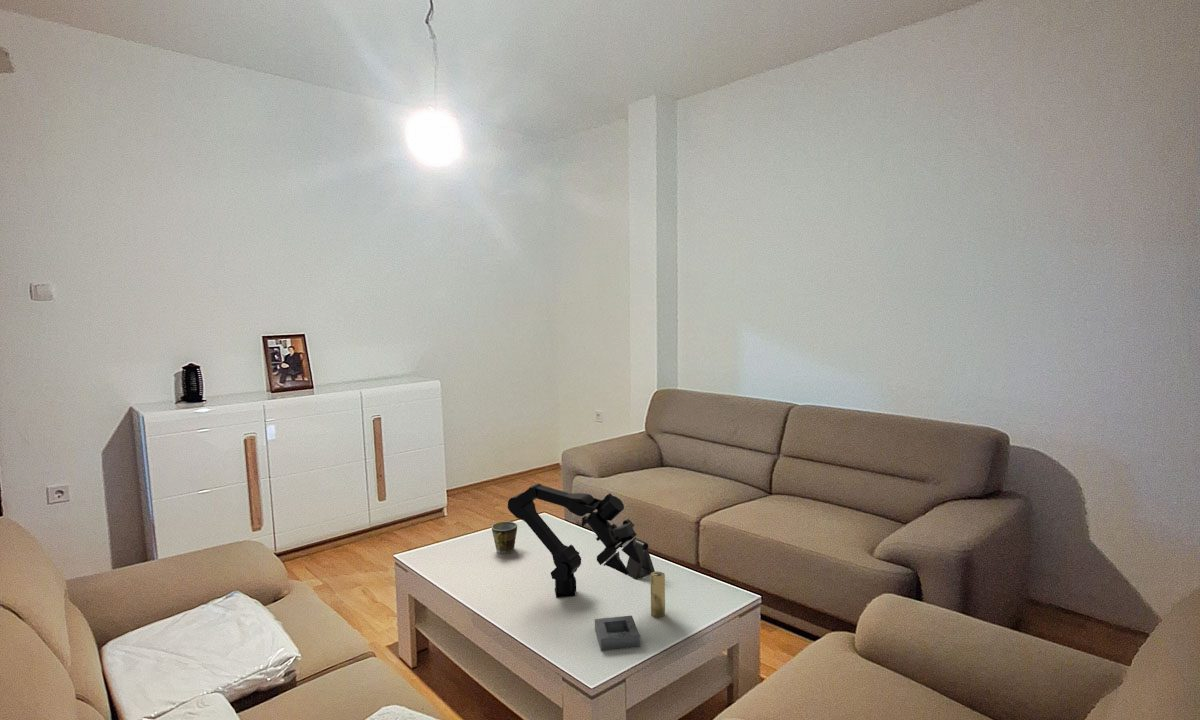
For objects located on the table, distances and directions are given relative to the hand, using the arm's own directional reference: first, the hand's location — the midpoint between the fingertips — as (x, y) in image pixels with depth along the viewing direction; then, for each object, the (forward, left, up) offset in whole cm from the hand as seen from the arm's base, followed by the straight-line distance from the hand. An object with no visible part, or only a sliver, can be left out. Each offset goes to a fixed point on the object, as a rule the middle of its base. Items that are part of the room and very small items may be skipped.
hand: (634, 568), depth 195 cm
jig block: (-9, -16, -13) cm, 23 cm away
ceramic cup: (-41, +54, -14) cm, 69 cm away
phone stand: (+7, +25, -14) cm, 29 cm away
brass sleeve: (+6, -5, -13) cm, 16 cm away
